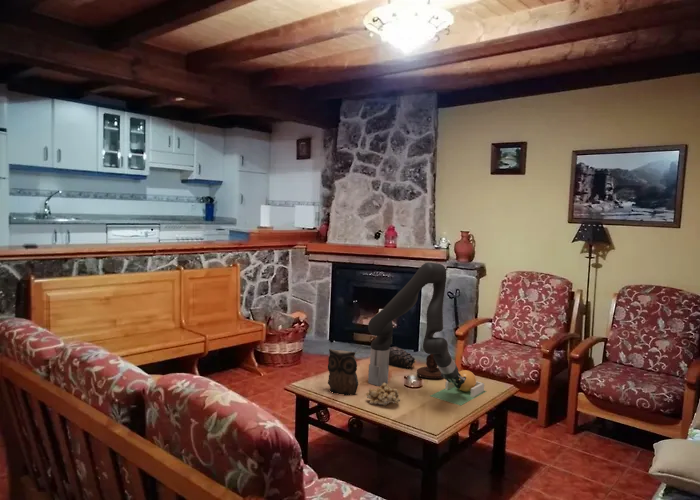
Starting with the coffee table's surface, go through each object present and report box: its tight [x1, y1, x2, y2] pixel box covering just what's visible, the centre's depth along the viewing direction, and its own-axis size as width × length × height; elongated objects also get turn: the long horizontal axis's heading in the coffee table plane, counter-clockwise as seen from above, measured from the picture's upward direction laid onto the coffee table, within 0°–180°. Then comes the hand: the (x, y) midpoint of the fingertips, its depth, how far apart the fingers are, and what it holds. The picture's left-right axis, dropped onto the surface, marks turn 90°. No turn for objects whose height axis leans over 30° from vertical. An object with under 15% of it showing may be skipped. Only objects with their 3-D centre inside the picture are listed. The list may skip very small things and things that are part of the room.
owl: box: [327, 348, 359, 396], centre depth 239 cm, size 13×13×20 cm
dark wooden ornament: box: [416, 336, 444, 381], centre depth 267 cm, size 15×15×20 cm
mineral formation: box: [365, 383, 401, 407], centre depth 227 cm, size 8×13×15 cm
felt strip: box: [429, 386, 487, 407], centre depth 243 cm, size 26×16×1 cm, turn 140°
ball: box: [458, 369, 477, 392], centre depth 247 cm, size 10×10×10 cm
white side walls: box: [444, 380, 485, 398], centre depth 248 cm, size 12×14×4 cm
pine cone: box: [389, 346, 416, 371], centre depth 284 cm, size 10×18×10 cm, turn 59°
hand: (458, 386), depth 243 cm, fingers closed
